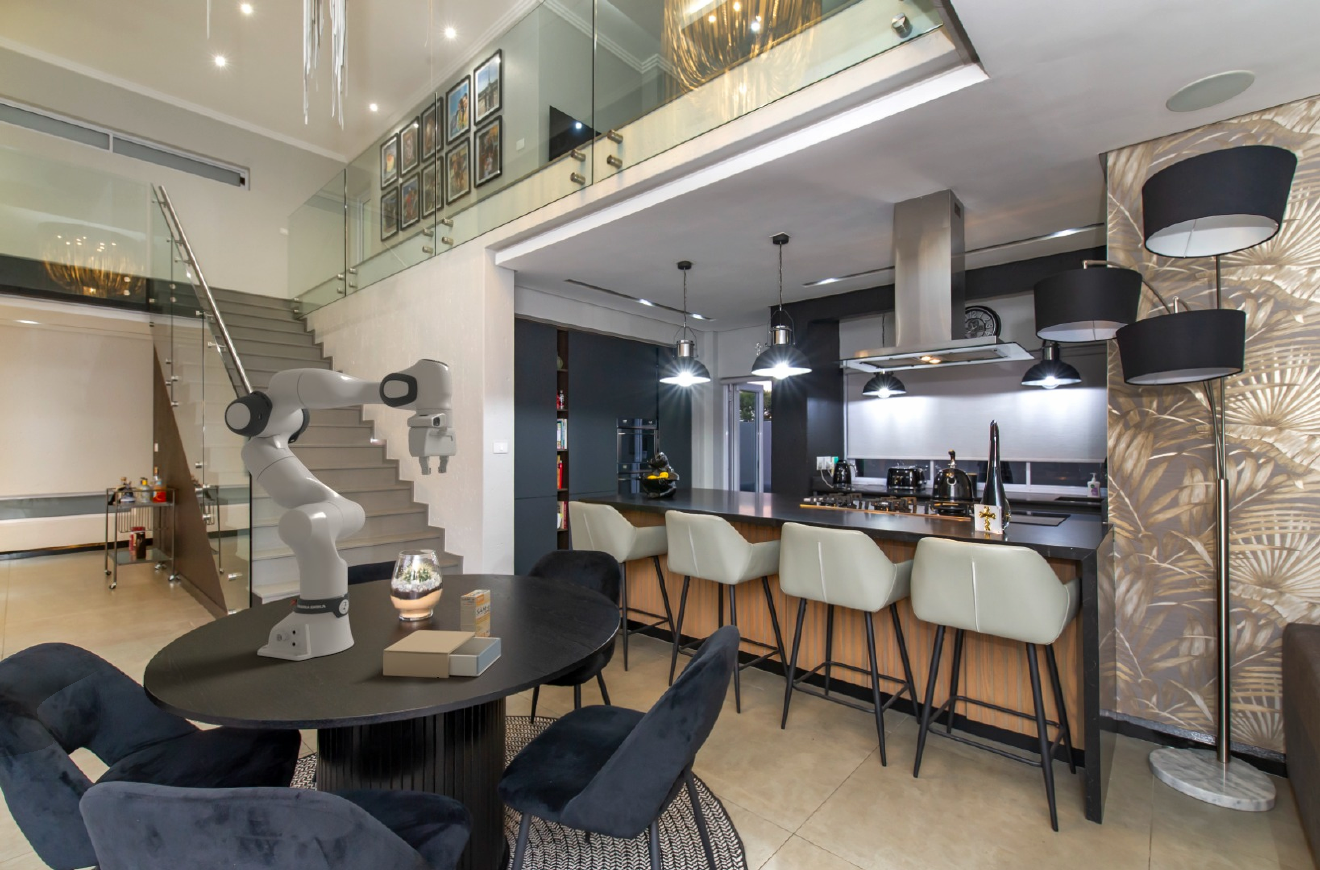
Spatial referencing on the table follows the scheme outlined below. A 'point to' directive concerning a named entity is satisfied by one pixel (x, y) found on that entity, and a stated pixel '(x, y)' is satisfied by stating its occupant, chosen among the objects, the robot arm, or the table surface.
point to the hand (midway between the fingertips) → (434, 473)
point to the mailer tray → (474, 656)
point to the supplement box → (476, 613)
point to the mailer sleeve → (423, 653)
